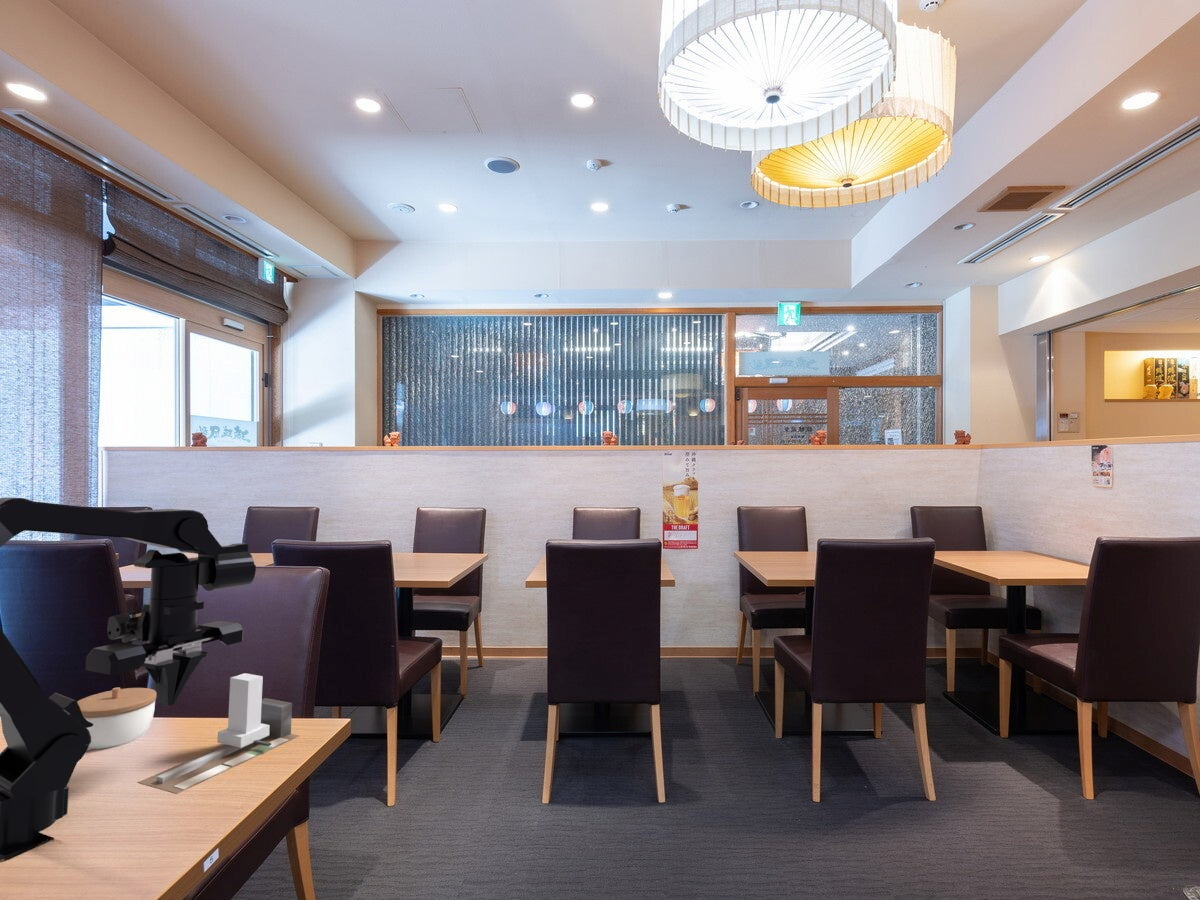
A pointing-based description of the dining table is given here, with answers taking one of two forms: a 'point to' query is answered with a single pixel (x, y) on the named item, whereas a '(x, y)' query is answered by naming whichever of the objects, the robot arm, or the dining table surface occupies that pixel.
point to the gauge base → (227, 752)
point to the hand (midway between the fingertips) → (168, 705)
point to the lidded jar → (118, 715)
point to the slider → (245, 713)
